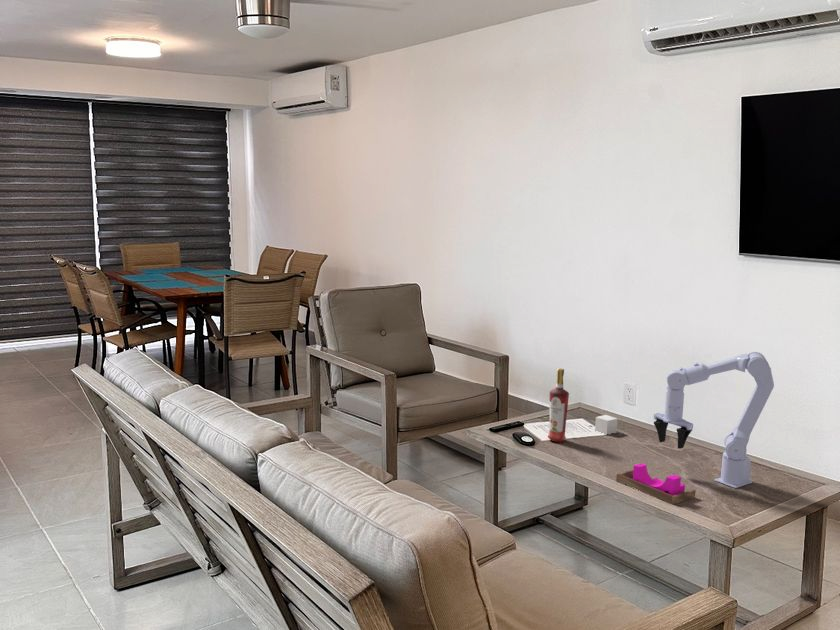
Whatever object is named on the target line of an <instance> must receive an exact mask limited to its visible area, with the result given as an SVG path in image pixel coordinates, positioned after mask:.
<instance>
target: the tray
mask: <svg viewBox="0 0 840 630" xmlns="http://www.w3.org/2000/svg"><path fill="white" fill-rule="evenodd" d="M633 470H634V468H632V469H630V470H626V471H622V472H619V473H616V479H615V481H616V482H617V481H618V482H617V483H619V482H621V483H620V484H622V483H623V484H622V485H624V484H626V485H625V486H627V485H628V486H627V487H629V486H631V487H634V488H636V489H638V490H637V491H639V490H640V491H639V492H641V491H642V492H641V493H643V492H645V493H644V494H646V493H647V494H646V495H648V494H649V496H651V497H653V498H655V497H656V499H658V500H660V501H662V502H665V503H668V504H670V505H677V504H680V503H683V502H686V501H689V500H692V499H695V498H696V492H697V491H696V489H690V490H685V491H684V492H683V493H680V494H677V495H674V496H673V495H670V494H668V493H665V492H663V491H660V490H658V489H655V488H653V487H650V486H648V485H645V484H643V483H641V482H638V481H636V480H633ZM631 487H630V488H631ZM634 488H633V489H634ZM636 489H635V490H636Z"/></svg>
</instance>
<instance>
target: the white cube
mask: <svg viewBox="0 0 840 630" xmlns="http://www.w3.org/2000/svg"><path fill="white" fill-rule="evenodd" d="M594 425H595V426H594V431H595V432H596V431H598V432H597V433H599V432H601V433H600V434H602V433H604V434H603V435H605V434H606V435H605V436H608V435H607V434H610V435H612V434H611V433H614V434H616V432H618V418H616V417H613V416H611V415H608V414H603V415H600V416H595V424H594Z"/></svg>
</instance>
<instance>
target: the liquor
mask: <svg viewBox="0 0 840 630" xmlns="http://www.w3.org/2000/svg"><path fill="white" fill-rule="evenodd" d="M564 374H565V369H564V368H557V369H556V381H555V388H554V389H552V390H550V391H549V402H548V404H549V425H548V426H549V427H548V428H549V431H548V436H547V438H548V440H550V441H551V440H552V441H551V442H553V441H556V442H555V443H562V442H564V441H565V440H566V439H567V437H566V426H567V415H568V407H569V399H570V397H569V395H570V393H569V392H568V391H567V390H566V389H564Z"/></svg>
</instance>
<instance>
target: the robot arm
mask: <svg viewBox="0 0 840 630" xmlns="http://www.w3.org/2000/svg"><path fill="white" fill-rule="evenodd" d="M733 370H734V371H735V370H736V371H739V372H742V373H746V370H747V372H748V374H749V375H751V377H752V378H754V381H755V383H756V385H755V387H754V390H753V391H752V393H751V396H750V397H749V399H748V402H747V403H746V406H745V408H744V409H743V412H742V414H741V416H740V418H739V420H738V422H737V423H736V426H735V427H734V428H733V429H732V431H731V432H730V434H728V435H727V436H726V437H725V439H724V447H725V451H724V452H723V453H722V460H721V472H720V477H718V478H715V479H714V481H715V482H718V483H721V484H724V485H726V486H728V487H731V488H734V489H737V488H741V487H743V486H747V485H749V484H752V483H753V481H752V480H751V474H752V473H751V471H752V462H751V459H750V458H749V456H747V446H748V444H749V440H750V436H751V434H752V431H753V429H754V428H755V425H756V423H757V422H758V419H759V418H760V416H761V414H762V411H763V409H764V408H765V405H766V403H767V402H768V399H769V397H770V396H771V393H772V391H773V389H774V387H775V382H774V378H773V374H772V368H771V366H770V364H769V362H768V360H767V359H766V357H765V355H764V354H763V353H761V352H758V351H752V352H750V353H742V354H739V355H736V356H733V357H729V358H728V359H727V358H726V359H724V360H720V361H718V362H714V363H711V364H708V365H706V364H704V363H698V362H695V363H694V364H693V365H691V366H688V367H687V366H686V367H684V368H683V367H680V368H679V369H672V370H671V371H670V372H668V374H667V377H666V379H667V380H666V383H667V386H666V393H665V406H664V413H659V412H657V413H655V412H654V413H653V420H655V421H653V426H654V427H655V429H656V431H657V437H658V441H659V442H660V443H664V442H666V439H667V438H666V436H667V435H666V434H667V430H668V426H669V424H671V425H674V426H676V427H678V428H676V433H677V449H679V450H681V449H684V447H685V444H686V441H687V439H688V437H689V436H690V434H691V433H692V432H693V430H694V423H692V422H690V421H687V420H686V419H683V415H684V413H683V412H684V402H685V393H684V392H685V391H684V390H685V387H686V386H691V385H694V384H698V383H701V382H705V381H708V380H709V378H710V376H713V375H715V374H717V375H718V374H721V373H725V372H730V371H733Z"/></svg>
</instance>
